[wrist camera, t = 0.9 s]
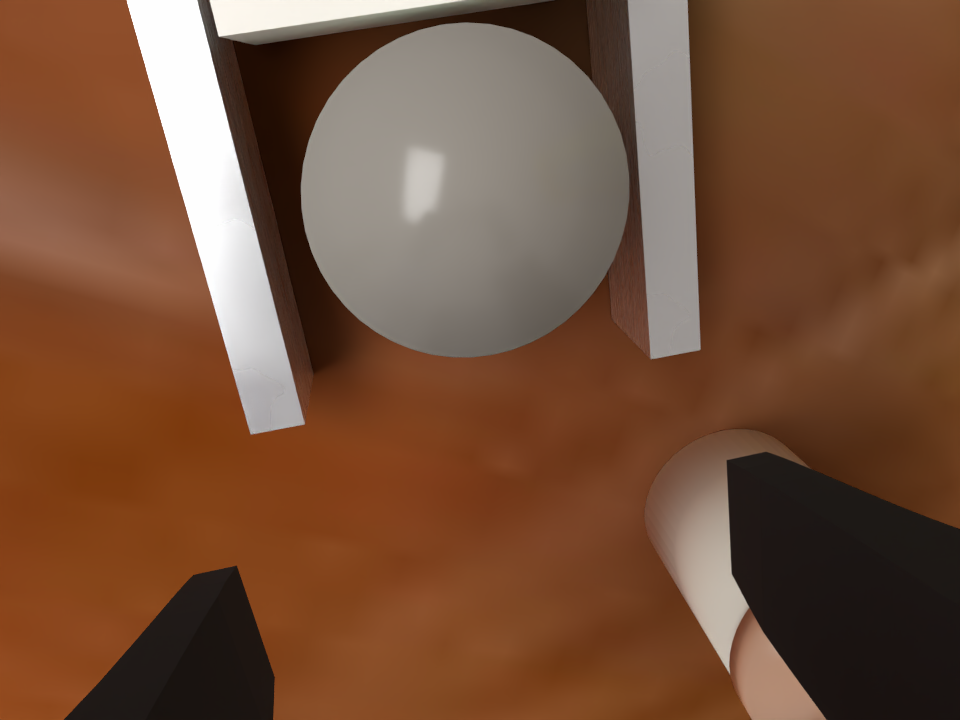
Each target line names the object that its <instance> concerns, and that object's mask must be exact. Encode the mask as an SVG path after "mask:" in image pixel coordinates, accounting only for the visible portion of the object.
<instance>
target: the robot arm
mask: <svg viewBox="0 0 960 720" xmlns="http://www.w3.org/2000/svg"><path fill="white" fill-rule="evenodd" d="M726 461H727V484H728V506H729V528H730V551H731V573H732V576H733V577H734V579H735V581H736V583H737V585H738V587H739V589H740V591H741V593H742V595H743V596H744V598H745V600H746V602H747V604H748V606H749V608H750V610H751V611H752V613H753V615H754V617H755V618H756V620H757V622H758V624H759V626H760V627H761V629H762V631H763V633H764V634H765V635H766V637H767V638H768V640H769V641H770V643H771V644H772V645H773V647H774V648H775V650H776V651H777V652H778V654H779V655H780V657H781V658H782V659H783V661H784V662H785V664H786V665H787V666H788V668H789V669H790V670H791V672H792V673H793V675H794V676H795V677H796V679H797V680H798V682H799V683H800V684H801V686H802V687H803V688H804V690H805V691H806V692H807V694H808V695H809V697H810V698H811V699H812V701H813V702H814V703H815V705H816V706H817V707H818V709H819V710H820V712H821V713H822V714H823V716H824V717H825V718H826V720H960V529H958V528H955V527H952V526H950V525H947V524H944V523H941V522H939V521H936V520H933V519H930V518H928V517H925V516H923V515H920V514H918V513H915V512H912V511H910V510H907V509H905V508H902V507H900V506H897V505H895V504H892V503H890V502H888V501H885V500H883V499H880V498H878V497H876V496H873V495H871V494H868V493H866V492H864V491H861V490H859V489H857V488H854V487H852V486H849V485H847V484H845V483H842V482H840V481H838V480H836V479H833V478H831V477H829V476H826V475H824V474H822V473H819V472H817V471H815V470H812V469H810V468H807V467H805V466H803V465H800V464H798V463H795V462H793V461H790V460H788V459H785V458H783V457H780V456H777V455H775V454H772V453H769V452H762V453H757V454H753V455H748V456H744V457H739V458H734V459H730V460H726ZM274 678H275V677H274V674H273V671H272V668H271V665H270V662H269V659H268V656H267V654H266V651H265V648H264V645H263V642H262V639H261V636H260V633H259V630H258V627H257V624H256V621H255V618H254V615H253V612H252V609H251V606H250V603H249V600H248V597H247V595H246V592H245V589H244V586H243V583H242V580H241V577H240V574H239V571H238V568H237V566H233V567H229V568H224V569H219V570H215V571H210V572H205V573H201V574H196V575H193V576H192V577H191V578H190V579H189V580H188V581H187V582H186V583H185V584H184V586H183V587H182V588H181V589H180V590H179V591H178V592H177V593H176V595H175V596H174V597H173V598H172V599H171V600H170V601H169V603H168V604H167V605H166V606H165V607H164V608H163V610H162V611H161V612H160V613H159V614H158V615H157V617H156V618H155V619H154V620H153V621H152V622H151V624H150V625H149V626H148V627H147V628H146V629H145V631H144V632H143V633H142V634H141V635H140V636H139V638H138V639H137V640H136V641H135V642H134V643H133V644H132V646H131V647H130V648H129V649H128V650H127V651H126V652H125V654H124V655H123V656H122V657H121V658H120V659H119V660H118V662H117V663H116V664H115V665H114V666H113V667H112V668H111V670H110V671H109V672H108V673H107V674H106V675H105V676H104V678H103V679H102V680H101V681H100V682H99V683H98V684H97V685H96V686H95V687H94V688H93V689H92V691H91V692H90V693H89V694H88V695H87V696H86V697H85V698H84V699H83V700H82V701H81V702H80V703H79V704H78V705H77V706H76V707H75V708H74V710H73V711H72V712H71V713H70V714H69V715H68V716H67V717H66V718H65V719H64V720H273V706H274Z"/></svg>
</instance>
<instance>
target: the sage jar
mask: <svg viewBox="0 0 960 720" xmlns="http://www.w3.org/2000/svg"><path fill="white" fill-rule="evenodd" d="M628 204H629V171H628V163H627V156H626V151H625V148H624V144H623V140H622V136H621V133H620V130H619V128H618V126H617V123H616V121H615V118H614V116H613V113H612V112H611V110H610V108H609V106H608V105H607V103H606V101H605V100H604V98H603V96H602V94H601V93H600V92H599V90H598V89H597V88H596V87H595V85H594V84H593V83H592V81H591V80H590V79H589V77H588V76H587V75H586V74H585V73H584V72H583V71H582V70H581V69H580V68H579V67H578V66H576V65H575V64H574V63H573V62H572V61H571V60H570V59H569V58H567V57H566V56H564V55H563V54H562V53H560V52H559V51H558V50H556V49H555V48H554V47H552V46H550V45H548V44H546V43H544V42H543V41H541V40H539V39H537V38H535V37H533V36H530V35H528V34H525V33H522V32H519V31H517V30H514V29H511V28H506V27H501V26H497V25H492V24H481V23H454V24H443V25H438V26H434V27H429V28H425V29H421V30H418V31H415V32H413V33H410V34H407V35H405V36H402V37H400V38H398V39H396V40H394V41H392V42H390V43H389V44H387V45H385V46H383V47H381V48H380V49H378V50H377V51H375V52H374V53H373V54H371V55H370V56H369V57H367V58H366V59H365V60H363V61H362V62H361V63H359V64H358V65H357V66H356V67H355V68H354V69H353V70H352V71H351V72H350V73H349V74H348V75H347V76H346V77H345V78H344V79H343V80H342V82H341V83H340V84H339V86H338V87H337V88H336V90H335V91H334V92H333V94H332V95H331V96H330V98H329V99H328V101H327V103H326V104H325V106H324V108H323V110H322V112H321V113H320V115H319V117H318V119H317V121H316V124H315V126H314V129H313V131H312V134H311V136H310V139H309V142H308V146H307V150H306V154H305V158H304V163H303V171H302V180H301V207H302V214H303V221H304V227H305V232H306V235H307V239H308V242H309V245H310V249H311V252H312V254H313V256H314V258H315V261H316V263H317V265H318V267H319V270H320V272H321V273H322V275H323V277H324V278H325V280H326V281H327V283H328V285H329V286H330V288H331V290H332V291H333V292H334V293H335V294H336V296H337V297H338V298H339V299H340V301H341V302H342V303H343V304H344V306H345V307H347V308H348V309H349V310H350V311H351V312H352V313H353V314H354V315H355V316H356V317H357V318H358V319H359V320H360V321H362V322H363V323H364V324H366V325H367V326H368V327H370V328H371V329H373V330H374V331H375V332H377V333H379V334H380V335H382V336H384V337H386V338H388V339H389V340H391V341H393V342H395V343H398V344H400V345H403V346H405V347H408V348H410V349H413V350H416V351H420V352H424V353H428V354H432V355H439V356H447V357H478V356H487V355H493V354H497V353H501V352H506V351H510V350H513V349H515V348H518V347H521V346H523V345H526V344H529V343H531V342H533V341H535V340H537V339H538V338H540V337H542V336H544V335H546V334H548V333H549V332H551V331H552V330H554V329H555V328H557V327H558V326H559V325H561V324H562V323H564V322H565V321H566V320H567V319H568V318H570V317H571V316H572V315H573V314H574V313H575V312H576V311H577V310H579V309H580V308H581V306H582V305H583V304H584V303H585V302H586V301H587V300H588V299H589V297H590V296H591V295H592V294H593V293H594V291H595V290H596V288H597V287H598V285H599V284H600V283H601V281H602V280H603V278H604V277H605V275H606V273H607V271H608V269H609V267H610V266H611V264H612V262H613V260H614V258H615V255H616V253H617V250H618V247H619V245H620V242H621V239H622V236H623V232H624V228H625V224H626V220H627V213H628Z"/></svg>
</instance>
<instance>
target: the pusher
mask: <svg viewBox="0 0 960 720" xmlns="http://www.w3.org/2000/svg"><path fill="white" fill-rule="evenodd" d="M547 1H554V0H210V4H211V8H212V12H213V16H214V20H215V24H216V28H217V32H218V36H219V37H222V38H227V39H231V40H235V41H240V42H244V43H248V44H253V45H260V44H266V43H273V42H280V41H286V40H293V39H300V38H307V37H313V36H320V35H327V34H333V33H340V32H347V31H353V30H360V29H367V28H373V27H380V26H387V25H393V24H400V23H407V22H414V21H420V20H427V19H434V18H440V17H447V16H454V15H460V14H467V13H474V12H480V11H487V10H494V9H501V8H507V7H514V6H521V5H527V4H534V3H541V2H547Z"/></svg>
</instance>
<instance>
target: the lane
mask: <svg viewBox="0 0 960 720" xmlns="http://www.w3.org/2000/svg"><path fill="white" fill-rule="evenodd" d="M127 3H128V6H129V10H130V13H131V17H132V20H133V24H134V27H135V31H136V34H137V38H138V41H139V45H140V48H141V52H142V55H143V59H144V62H145V66H146V69H147V73H148V76H149V80H150V83H151V87H152V90H153V94H154V97H155V101H156V104H157V108H158V111H159V115H160V118H161V122H162V125H163V129H164V132H165V136H166V139H167V143H168V146H169V150H170V153H171V157H172V160H173V164H174V167H175V171H176V174H177V178H178V181H179V185H180V188H181V192H182V195H183V199H184V202H185V206H186V209H187V213H188V216H189V220H190V223H191V227H192V230H193V234H194V237H195V241H196V244H197V248H198V251H199V255H200V258H201V262H202V265H203V269H204V272H205V276H206V279H207V283H208V286H209V290H210V293H211V297H212V300H213V304H214V307H215V311H216V314H217V318H218V321H219V325H220V328H221V332H222V335H223V339H224V342H225V346H226V349H227V353H228V356H229V360H230V363H231V367H232V370H233V374H234V377H235V381H236V384H237V388H238V391H239V395H240V398H241V402H242V405H243V409H244V412H245V416H246V419H247V423H248V426H249V430H250V433H251V434H256V433H261V432H266V431H272V430H277V429H282V428H288V427H293V426H298V425H304V424H305V421H306V415H307V409H308V404H309V398H310V393H311V387H312V382H313V376H314V374H313V369H312V365H311V361H310V357H309V353H308V349H307V345H306V341H305V337H304V332H303V328H302V324H301V320H300V316H299V312H298V308H297V304H296V300H295V295H294V291H293V287H292V283H291V279H290V275H289V271H288V267H287V263H286V258H285V254H284V250H283V246H282V242H281V238H280V234H279V230H278V226H277V221H276V217H275V213H274V209H273V205H272V201H271V197H270V193H269V189H268V184H267V180H266V176H265V172H264V168H263V164H262V160H261V156H260V152H259V147H258V143H257V139H256V135H255V131H254V127H253V123H252V119H251V115H250V110H249V106H248V102H247V98H246V94H245V90H244V86H243V82H242V78H241V73H240V69H239V65H238V61H237V57H236V53H235V49H234V45H233V41H232V40H231V39H227V38H222V37H219V36H218V32H217V28H216V24H215V20H214V16H213V12H212V8H211V4H210V0H127ZM586 9H587V21H588V33H589V45H590V57H591V69H592V81H593V84H594V85H595V87H596V88H597V89H598V90H599V92H600V93H601V94H602V96H603V98H604V100H605V101H606V103H607V105H608V106H609V108H610V110H611V112H612V113H613V116H614V118H615V121H616V123H617V126H618V128H619V130H620V133H621V136H622V140H623V144H624V148H625V151H626V156H627V163H628V171H629V204H628V213H627V220H626V224H625V228H624V232H623V236H622V239H621V242H620V245H619V247H618V250H617V253H616V255H615V258H614V260H613V262H612V264H611V266H610V267H609V269H608V276H609V288H610V300H611V312H612V320H613V321H614V322H615V323H616V324H617V325H618V326H619V327H620V329H621V330H622V331H623V332H624V333H625V334H626V335H627V336H628V337H629V338H630V339H631V340H632V341H633V342H634V343H635V344H636V345H637V346H638V347H639V348H640V349H641V350H642V351H643V352H644V353H645V354H646V355H647V356H648V357H649V358H650V359H655V358H660V357H666V356H671V355H676V354H682V353H687V352H692V351H698V350H701V348H700V322H699V295H698V268H697V241H696V215H695V188H694V161H693V134H692V108H691V81H690V54H689V27H688V1H687V0H586Z"/></svg>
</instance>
